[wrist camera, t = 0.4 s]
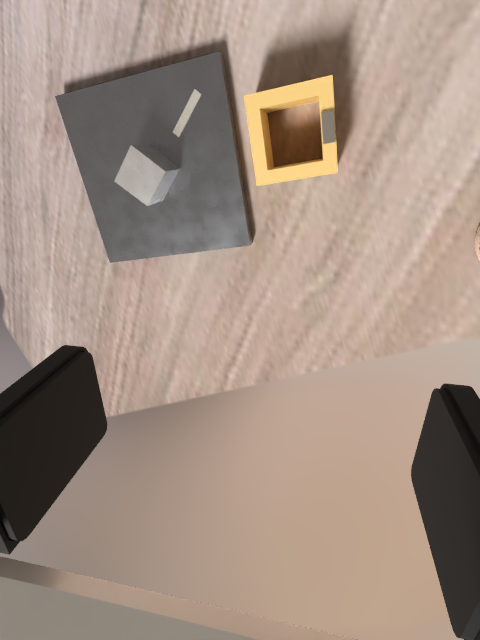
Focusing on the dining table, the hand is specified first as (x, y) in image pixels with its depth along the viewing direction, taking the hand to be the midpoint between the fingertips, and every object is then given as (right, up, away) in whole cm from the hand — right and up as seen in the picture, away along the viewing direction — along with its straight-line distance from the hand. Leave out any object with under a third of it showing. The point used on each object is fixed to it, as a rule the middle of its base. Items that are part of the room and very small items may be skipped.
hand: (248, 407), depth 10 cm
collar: (+5, +21, +26) cm, 33 cm away
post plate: (-9, +19, +30) cm, 37 cm away
